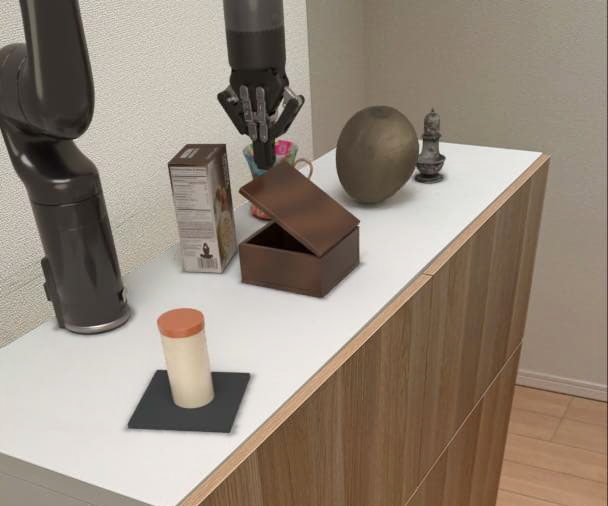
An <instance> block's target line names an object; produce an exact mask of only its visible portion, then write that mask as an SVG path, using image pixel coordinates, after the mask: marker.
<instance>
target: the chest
mask: <svg viewBox="0 0 608 506" xmlns="http://www.w3.org/2000/svg"><path fill="white" fill-rule="evenodd" d="M237 247H238V249H237V251H238V257H239V258H238V259H239V268H240V278H241V283H243V284H248V285H252V286H253V285H254V286H258V287H262V288H268V289H274V290H278V291H284V292H288V293H294V294H299V295H303V296H304V295H305V296H308V297H309V296H310V297H315V298H319V299H323V298H324V297H325V296H326V295H328V293H330V292H331V291H332V290H333V289H334V288H335V287H336V286H337V285H338V284H339V283H340V282H341V281H342V280H344V279H345V278H346V277H347V276H348V275H350V273H351V272H352V271H354V270H355V269H356V268H357V267H358V266H359V265H360V226H359V225H358V226H357V227H355V228H354V229H353V230H352V231H351V232H349V233H348V234H347V235H346V236H345V237H344V238H342V239H341V240H340V241H339V242H338V243H336V244H335V245H334V246H333V247H332V248H330V249H329V250H328V251H327V252H326V253H324V254H323V255H322V256H321V257H318V256H317V255H316V254H314V253H313V252H312V251H311V250H309V249H308V248H307V247H306V246H304V245H303V244H302V243H301V242H299V241H298V240H297V239H296V238H294V237H293V236H292V235H291V234H289V233H288V232H287V231H286V230H284V229H283V228H282V227H281V226H279V225H278V224H277V223H276V222H275V221H273V220H272V219H271V220H270V221H269V222H267V223H266V224H264V225H263V226H262V227H261V228H259V229H257V230H256V231H255V232H253V233H252V234H250V235H249V236H248V237H247V238H245V239H243V240H242V241H241V242H239V243H237Z"/></svg>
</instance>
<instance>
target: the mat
mask: <svg viewBox="0 0 608 506" xmlns="http://www.w3.org/2000/svg"><path fill="white" fill-rule="evenodd" d="M211 374H212V381H213V387H214V394H215V395H214V398H213V400H212V401H211V402H210V403H208V404H206V405H204V406H202V407H198V408H183V407H179V406H177V405H176V404H175V403H174V402H173V398H172V393H171V388H170V383H169V377H168V372H167V369H156V371H155V373H154V374H153V376H152V378H151V380H150V382H149V383H148V385H147V387H146V389H145V391H144V393H143V395H142V396H141V399H139V402H138V404H137V406H136V407H135V409H134V410H133V413H132V415H131V417H130V418H129V421H128V423H127V427H128V429H142V430H143V429H144V430H145V429H147V430H164V431H165V430H166V431H167V430H168V431H189V432H207V433H208V432H210V433H211V432H212V433H230V432H231V430H232V427H233V425H234V422H235V419H236V416H237V414H238V410H239V408H240V406H241V403H242V399H243V397H244V395H245V392H246V390H247V387H248V383H249V380H250V378H251V373H250V372H238V371H237V372H235V371H211Z"/></svg>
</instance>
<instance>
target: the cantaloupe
mask: <svg viewBox="0 0 608 506" xmlns="http://www.w3.org/2000/svg"><path fill="white" fill-rule="evenodd" d="M419 154H420V142H419V138H418V134H417V132H416V129H415V127H414V125H413V124H412V122H411V121H410V120H409V119H408V117H406V115H404V114H403V113H402V112H401V111H399V110H398V109H397V108H395V107H393V106H392V107H391V106H388V105H374V106H372V105H371V106H368V107H364V108H362V109H361V110H358V111H357V112H356V113H354V114H353V115H352V116H351V117H350V118H348V120H347V121H346V122H345V124H344V125H343V127H342V129H341V131H340V134H339V136H338V139H337V141H336V145H335V168H336V175H337V177H338V181H339V183H340V185H341V187H342V188H343V190H344V191H345V193H346V194H347V195H348V196H349V197H350V198H352V200H354V201H356V202H359V203H362V204H367V205H368V204H369V205H370V204H371V205H372V204H377V203H378V204H379V203H380V202H383V201H385V200H388V199H390V198H392V197H393V196H394V195H396V193H397V192H398V191H400V190H401V189H402V188H403V187H404V186H405V185H406V184H407V183H408V182H409V180H410V179H411V177H412V176H413V174H414V172H415V170H416V169H417V168H416V165H417V161H418V156H419Z"/></svg>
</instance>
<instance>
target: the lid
mask: <svg viewBox="0 0 608 506" xmlns="http://www.w3.org/2000/svg"><path fill="white" fill-rule="evenodd" d="M237 192H238V194H240V195H241V196H242V197H243V198H245V200H247V201H248V202H249V203H251V205H252V204H253V205H255V206H256V207H257V208H258V209H260V210H261V211H262V212H263V213H265V214H266V215H267V216H268V217H270V218H271V219H270V220H271V221H272V220H273V221H275V222H276V223H277V224H278V225H279V226H281V227H282V228H283V229H284V230H286V231H287V232H288V233H289V234H291V235H292V236H293V237H294V238H296V239H297V240H298V241H299V242H301V243H302V244H303V245H304V246H306V247H307V248H308V249H309V250H311V251H312V252H313V253H314V254H316V255H317V256H318V257H321V256H322V255H323V254H324V253H326V252H327V251H328V250H329V249H330V248H332V247H333V246H334V245H335V244H336V243H338V242H339V241H340V240H341V239H342V238H344V237H345V236H346V235H347V234H348V233H349V232H351V231H352V230H353V229H354V228H355V227H357V226H359V225H360V223H361V220H360V218H358V217H357V216H355V215H354V214H353V213H351V212H350V211H349V210H348V209H347V208H345V207H344V206H343V205H341V204H340V203H339V201H337V200H336V199H334V198H333V197H331V196H330V195H329V194H328V193H327V192H326V191H324V189H322V188H320V186H318V185H316V183H314V182H313V181H312V180H311V179H310V180H309V179H308V176H306V175H304V174H303V173H302V172H300V170H298V169H297V168H296V167H295V168H294V167H293V166H292V165H291V164H289V163H288V162H287V161H286V160H284V161H282V162H280V163H279V164H277V165H276V166H274V167H272V168H271V169H269V170H268V171H266V172H264V173H263V174H261V175H260V176H258V177H256V178H255V179H251V180H250V181H249V182H247V183H245V184H243V186H241V187H239V190H238V191H237Z"/></svg>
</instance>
